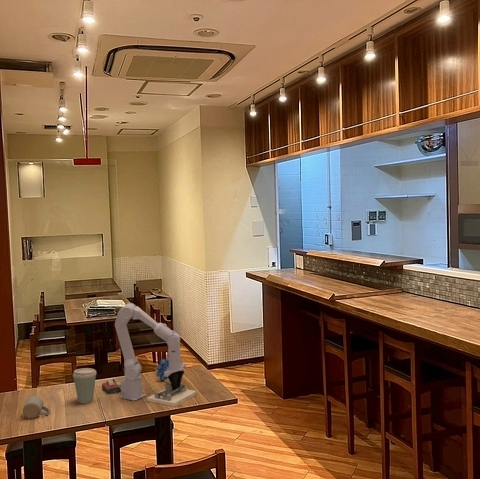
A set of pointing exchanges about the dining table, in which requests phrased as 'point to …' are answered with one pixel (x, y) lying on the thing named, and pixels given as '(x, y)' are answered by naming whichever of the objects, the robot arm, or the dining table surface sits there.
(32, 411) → the ceramic mug
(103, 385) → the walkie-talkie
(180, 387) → the strap
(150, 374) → the dining table surface
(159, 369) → the grapes
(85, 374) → the disposable coffee cup
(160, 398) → the latch base plate
